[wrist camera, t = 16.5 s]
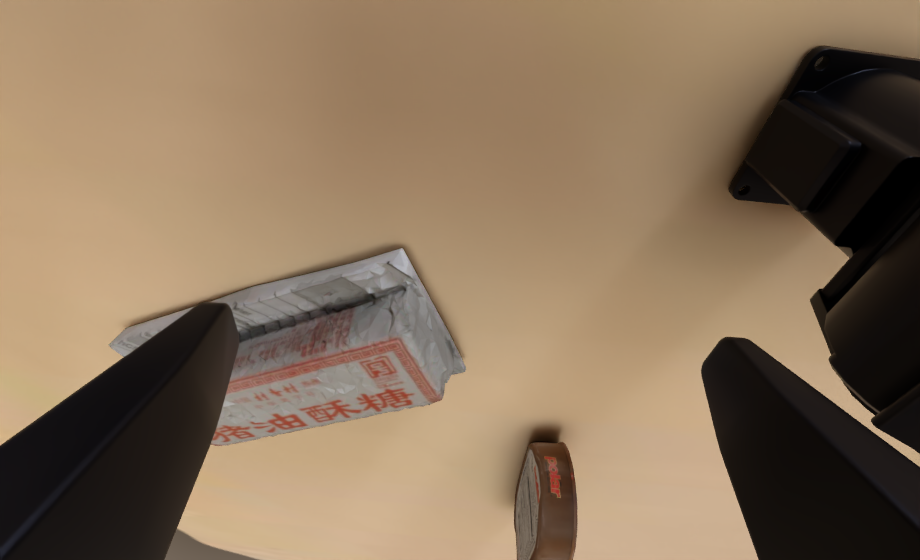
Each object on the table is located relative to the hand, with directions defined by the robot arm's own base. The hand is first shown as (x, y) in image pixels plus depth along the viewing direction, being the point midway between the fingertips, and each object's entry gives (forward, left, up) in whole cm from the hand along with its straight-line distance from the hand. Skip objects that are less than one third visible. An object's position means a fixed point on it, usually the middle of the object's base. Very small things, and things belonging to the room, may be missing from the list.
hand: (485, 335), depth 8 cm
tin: (-10, +31, -13) cm, 35 cm away
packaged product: (+8, +16, -13) cm, 22 cm away
